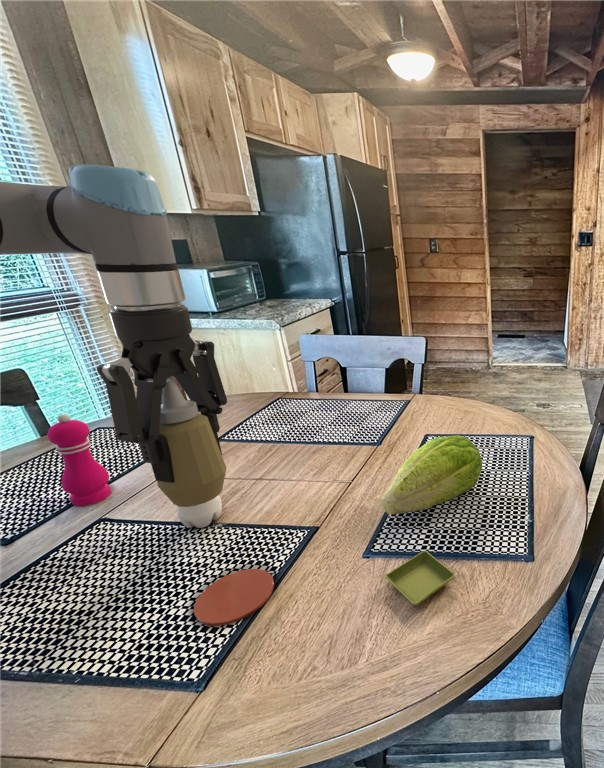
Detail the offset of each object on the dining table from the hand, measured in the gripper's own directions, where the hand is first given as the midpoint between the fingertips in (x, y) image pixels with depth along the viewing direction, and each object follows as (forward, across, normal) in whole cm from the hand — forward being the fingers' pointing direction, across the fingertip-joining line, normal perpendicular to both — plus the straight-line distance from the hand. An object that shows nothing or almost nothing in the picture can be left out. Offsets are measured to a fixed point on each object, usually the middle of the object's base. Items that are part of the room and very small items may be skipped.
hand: (190, 466), depth 60 cm
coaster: (+25, -1, +1) cm, 25 cm away
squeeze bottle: (+5, 0, 0) cm, 5 cm away
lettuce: (+25, -33, +23) cm, 47 cm away
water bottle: (+25, -15, -20) cm, 35 cm away
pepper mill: (+25, -16, -50) cm, 58 cm away
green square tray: (+25, -10, +30) cm, 40 cm away
